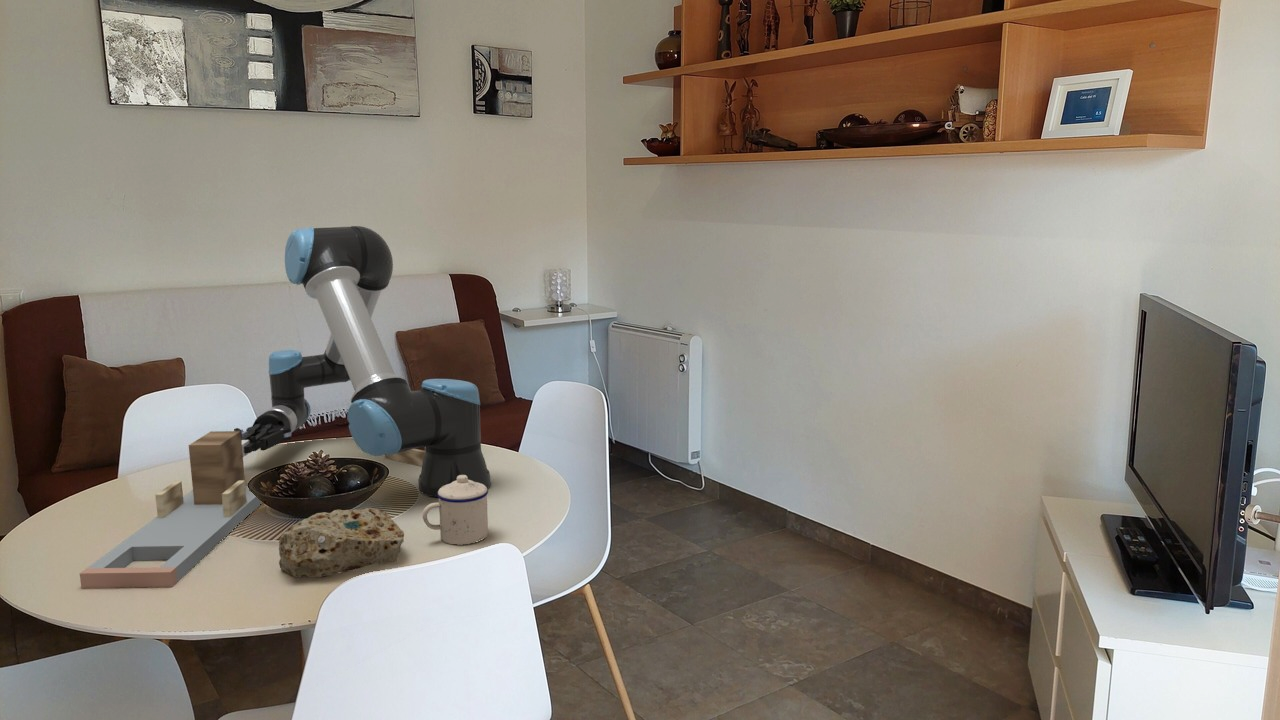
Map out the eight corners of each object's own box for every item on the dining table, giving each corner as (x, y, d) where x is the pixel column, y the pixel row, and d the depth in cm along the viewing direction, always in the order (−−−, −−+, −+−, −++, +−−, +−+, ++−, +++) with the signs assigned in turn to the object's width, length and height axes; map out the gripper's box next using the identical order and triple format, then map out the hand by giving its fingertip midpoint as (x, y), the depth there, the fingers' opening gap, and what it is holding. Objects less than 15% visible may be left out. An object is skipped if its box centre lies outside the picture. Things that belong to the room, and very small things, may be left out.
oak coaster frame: (473, 451, 224) (472, 437, 223) (425, 467, 211) (425, 452, 210) (433, 442, 231) (432, 429, 230) (384, 458, 218) (384, 443, 218)
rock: (385, 540, 171) (392, 492, 168) (410, 585, 160) (418, 535, 157) (268, 552, 160) (273, 502, 156) (286, 602, 148) (292, 548, 145)
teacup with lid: (481, 524, 176) (479, 465, 174) (495, 540, 168) (493, 479, 166) (418, 535, 170) (415, 474, 168) (430, 552, 162) (427, 489, 160)
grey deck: (198, 498, 191) (197, 486, 190) (268, 497, 191) (267, 485, 191) (81, 588, 149) (79, 573, 148) (172, 586, 149) (170, 572, 148)
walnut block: (215, 487, 189) (210, 431, 187) (245, 487, 190) (240, 431, 187) (194, 504, 180) (188, 445, 177) (225, 504, 180) (220, 444, 177)
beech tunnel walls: (177, 503, 180) (175, 481, 180) (246, 502, 181) (244, 480, 180) (157, 517, 173) (155, 494, 172) (230, 516, 173) (228, 494, 172)
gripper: (304, 440, 216) (267, 471, 193) (247, 441, 216) (204, 472, 192) (301, 409, 214) (264, 437, 191) (245, 410, 214) (200, 437, 191)
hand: (234, 454), depth 192 cm, fingers closed
